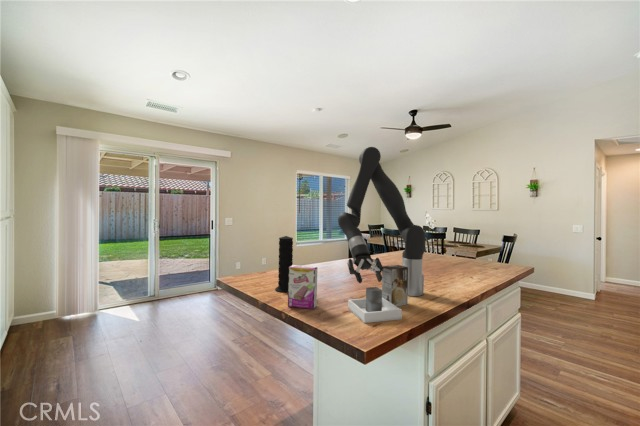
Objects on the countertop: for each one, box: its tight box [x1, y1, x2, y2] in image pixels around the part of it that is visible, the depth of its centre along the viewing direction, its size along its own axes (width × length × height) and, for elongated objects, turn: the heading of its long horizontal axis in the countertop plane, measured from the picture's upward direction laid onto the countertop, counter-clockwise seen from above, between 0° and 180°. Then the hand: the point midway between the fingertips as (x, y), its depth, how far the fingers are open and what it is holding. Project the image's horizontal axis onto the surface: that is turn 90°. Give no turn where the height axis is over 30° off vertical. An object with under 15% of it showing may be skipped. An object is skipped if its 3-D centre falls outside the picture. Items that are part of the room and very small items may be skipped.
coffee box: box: [381, 264, 409, 307], centre depth 119 cm, size 9×6×16 cm
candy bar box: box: [287, 264, 318, 310], centre depth 114 cm, size 11×5×16 cm, turn 78°
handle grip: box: [274, 235, 294, 294], centre depth 137 cm, size 10×26×10 cm
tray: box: [347, 297, 403, 324], centre depth 108 cm, size 15×15×4 cm
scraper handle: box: [365, 286, 382, 312], centre depth 108 cm, size 4×4×9 cm
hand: (370, 281), depth 111 cm, fingers open, 8 cm apart
